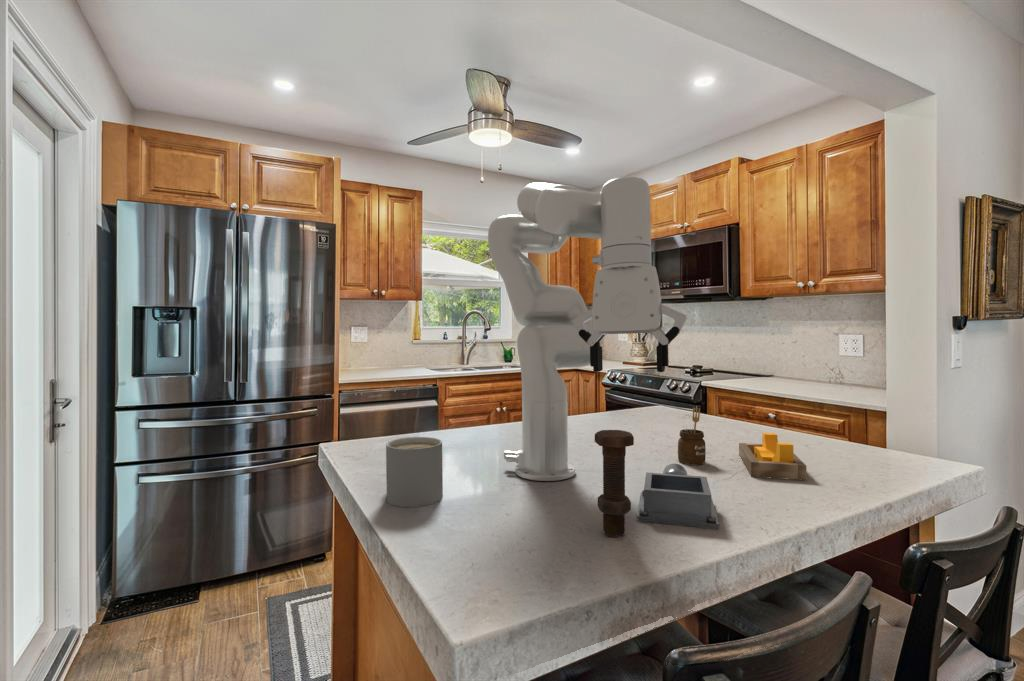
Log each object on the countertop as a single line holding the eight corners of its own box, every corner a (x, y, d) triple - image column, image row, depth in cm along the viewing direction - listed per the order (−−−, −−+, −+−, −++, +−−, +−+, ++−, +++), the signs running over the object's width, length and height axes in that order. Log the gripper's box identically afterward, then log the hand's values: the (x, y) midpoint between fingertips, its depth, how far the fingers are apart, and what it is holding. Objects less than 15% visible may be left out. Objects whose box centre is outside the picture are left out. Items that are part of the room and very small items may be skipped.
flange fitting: (637, 521, 79) (637, 490, 79) (642, 486, 97) (642, 461, 97) (719, 529, 76) (719, 497, 76) (708, 491, 94) (709, 465, 94)
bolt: (592, 527, 77) (592, 429, 77) (624, 525, 78) (624, 428, 77) (602, 542, 72) (602, 437, 71) (637, 541, 72) (637, 436, 72)
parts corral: (751, 476, 103) (751, 462, 103) (738, 455, 120) (738, 442, 120) (806, 480, 100) (806, 465, 100) (785, 458, 117) (785, 445, 117)
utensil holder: (673, 462, 114) (673, 409, 114) (684, 457, 119) (684, 406, 119) (699, 467, 110) (699, 412, 110) (709, 461, 115) (709, 408, 115)
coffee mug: (449, 502, 89) (449, 445, 89) (393, 510, 85) (392, 451, 85) (429, 481, 101) (428, 431, 101) (378, 488, 97) (377, 436, 97)
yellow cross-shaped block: (754, 460, 116) (754, 432, 116) (774, 461, 115) (774, 433, 115) (770, 475, 105) (770, 444, 104) (793, 476, 104) (793, 445, 104)
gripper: (565, 262, 78) (567, 372, 78) (682, 251, 71) (685, 373, 71) (579, 268, 85) (581, 370, 85) (687, 259, 78) (690, 370, 78)
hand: (628, 371), depth 78 cm, fingers open, 9 cm apart
